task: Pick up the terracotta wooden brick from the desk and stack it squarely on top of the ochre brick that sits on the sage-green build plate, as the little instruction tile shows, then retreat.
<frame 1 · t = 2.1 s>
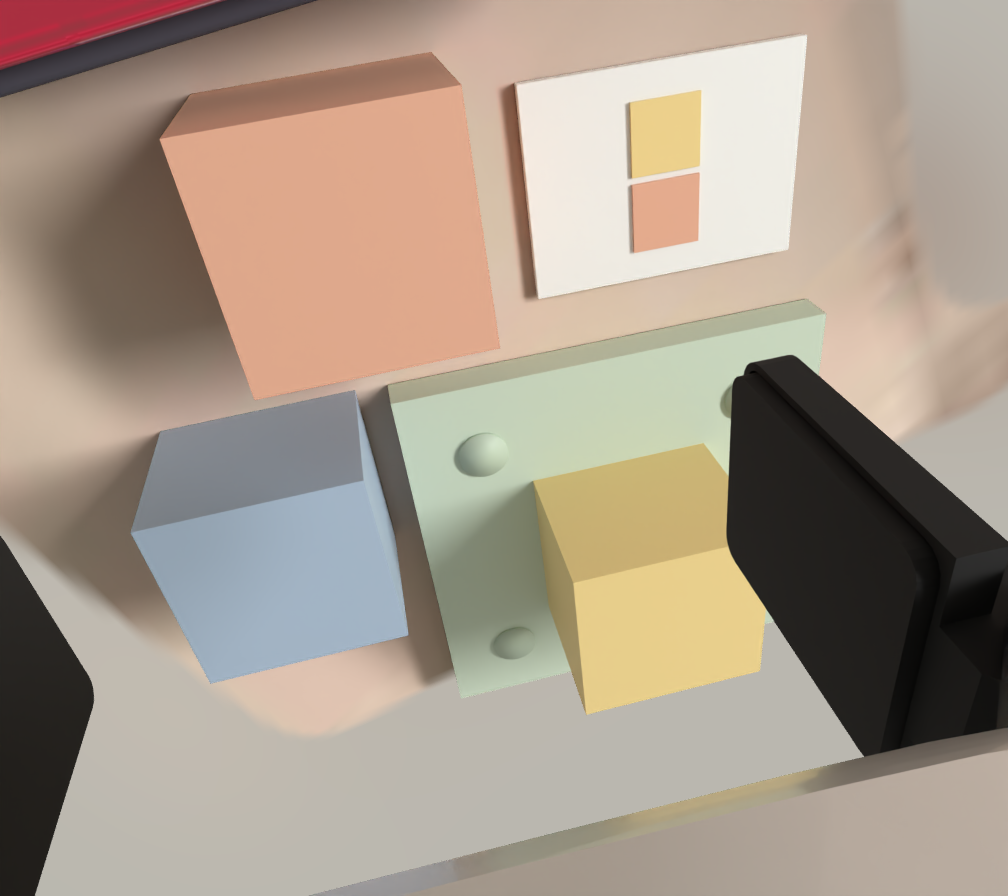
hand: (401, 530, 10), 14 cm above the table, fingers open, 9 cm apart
build plate: (611, 508, 29), on the table
terracotta brick: (342, 191, 21), on the table
instruction tile: (661, 172, 23), on the table
ochre brick: (622, 528, 28), point 1 cm above the table, touching build plate
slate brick: (286, 484, 26), on the table
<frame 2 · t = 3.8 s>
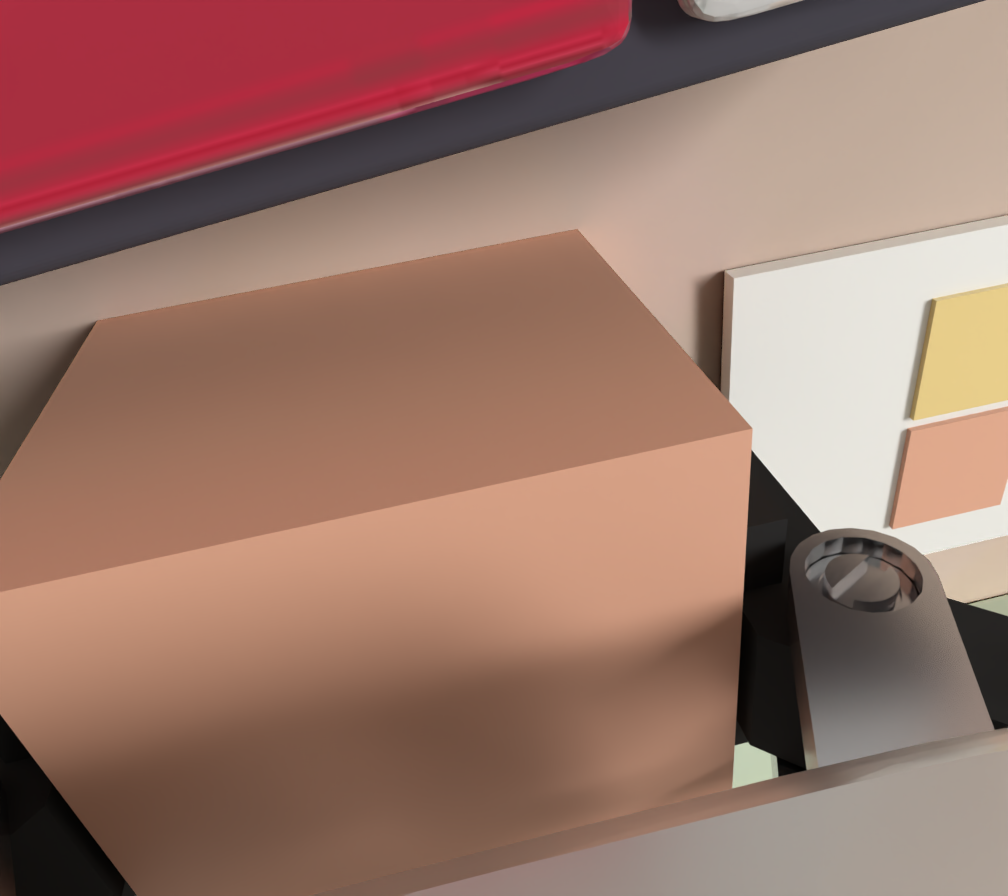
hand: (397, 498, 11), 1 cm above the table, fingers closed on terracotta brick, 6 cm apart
build plate: (783, 840, 19), on the table
terracotta brick: (393, 469, 11), on the table, touching gripper
instruction tile: (954, 400, 13), on the table
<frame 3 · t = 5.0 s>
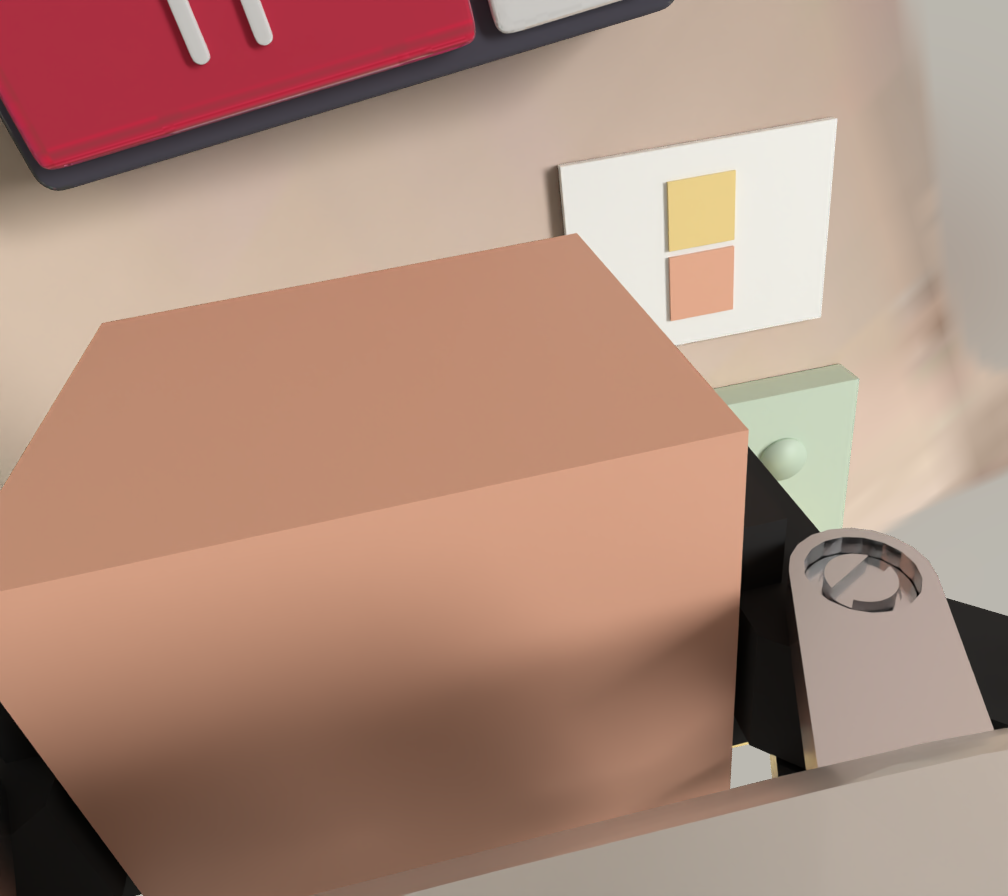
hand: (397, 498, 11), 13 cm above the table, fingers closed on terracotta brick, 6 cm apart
build plate: (647, 565, 30), on the table
terracotta brick: (394, 470, 12), point 12 cm above the table, touching gripper
instruction tile: (697, 245, 24), on the table
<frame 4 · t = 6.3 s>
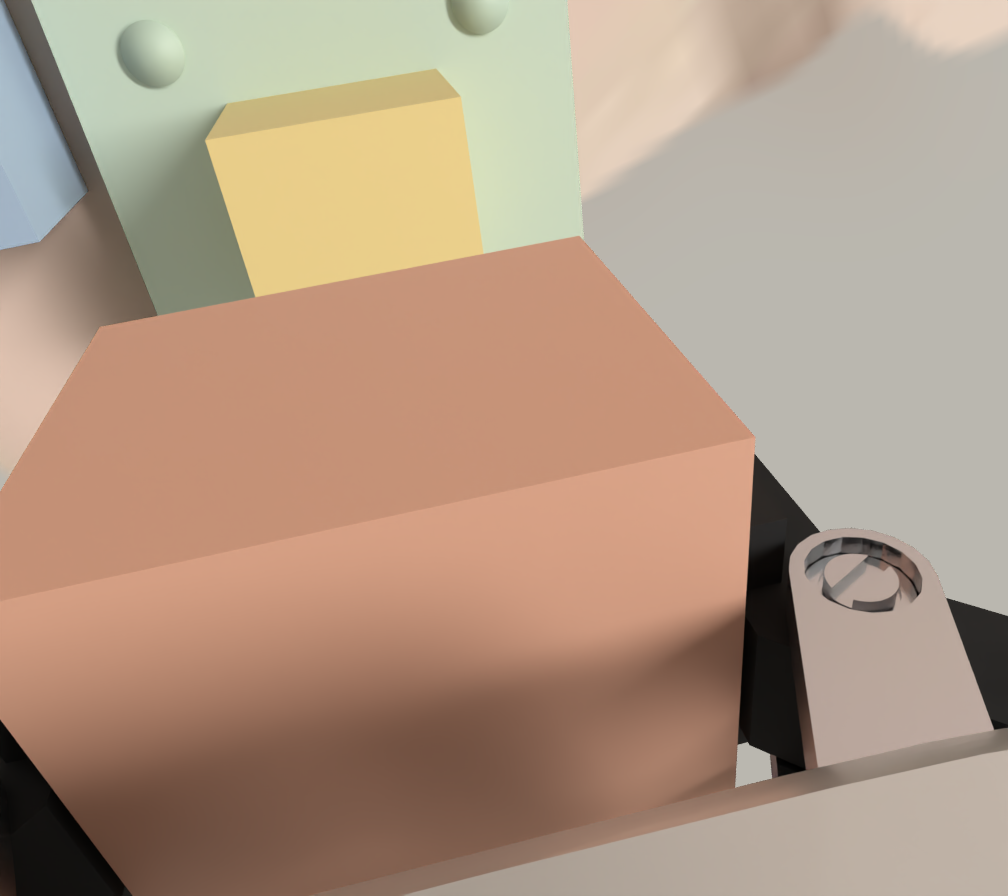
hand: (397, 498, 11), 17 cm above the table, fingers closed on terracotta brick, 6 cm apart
build plate: (355, 181, 25), on the table
terracotta brick: (394, 474, 11), point 17 cm above the table, touching gripper
ochre brick: (356, 191, 24), point 1 cm above the table, touching build plate
when the fingers open (8 cm above the table, at t = 8.8 s): terracotta brick drops 1 cm, resting on ochre brick.
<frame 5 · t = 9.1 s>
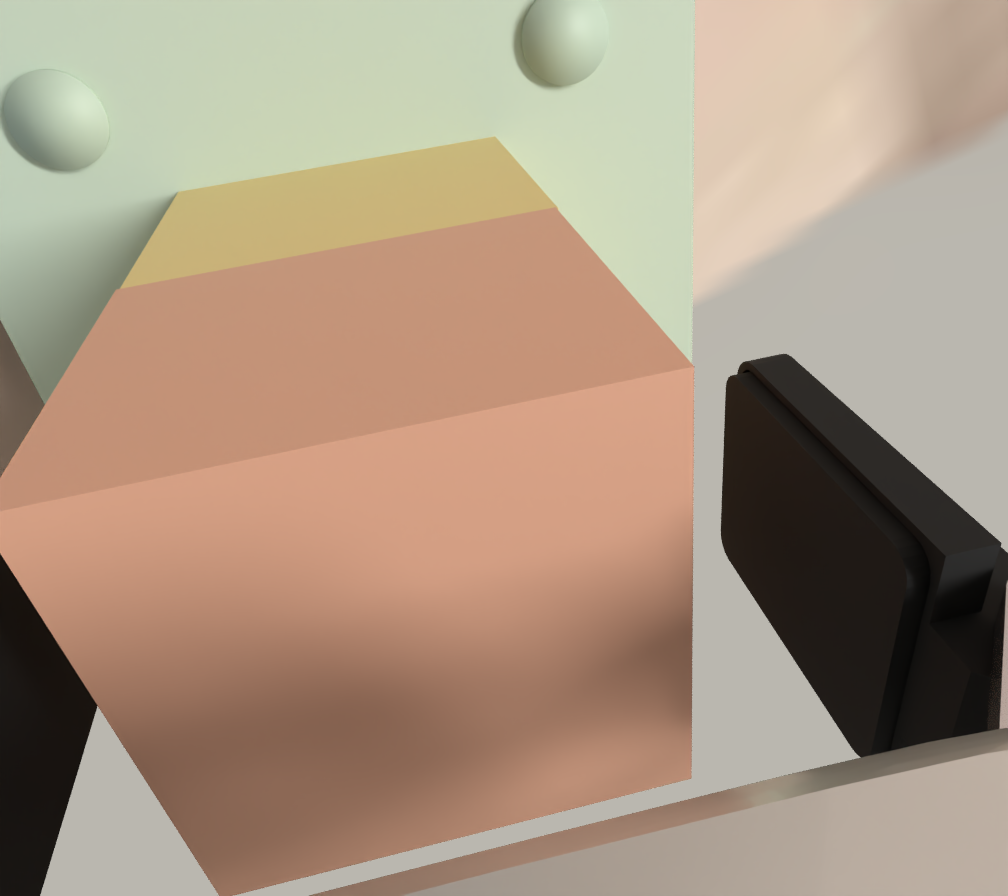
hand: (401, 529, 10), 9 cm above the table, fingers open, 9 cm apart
build plate: (370, 289, 18), on the table
terracotta brick: (387, 432, 12), point 6 cm above the table, touching ochre brick
ochre brick: (373, 310, 17), point 1 cm above the table, touching build plate, terracotta brick
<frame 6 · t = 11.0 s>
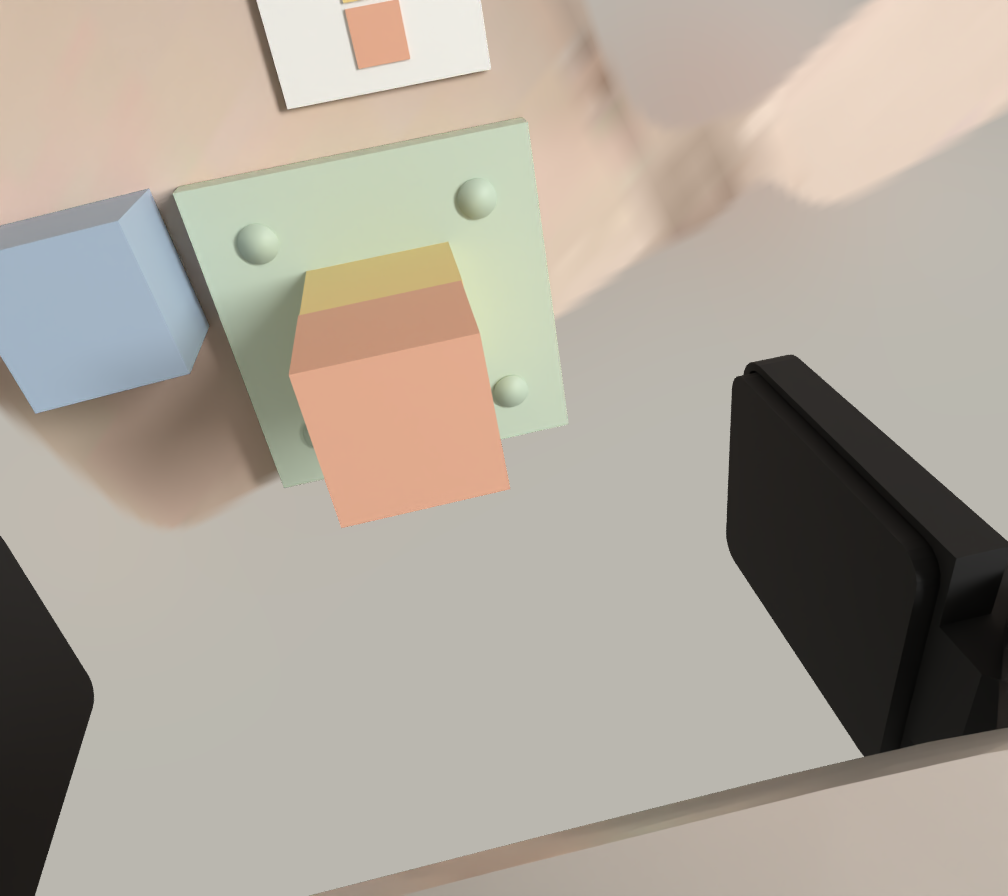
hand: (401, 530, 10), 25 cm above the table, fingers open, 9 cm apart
build plate: (392, 312, 35), on the table
terracotta brick: (399, 371, 30), point 6 cm above the table, touching ochre brick
instruction tile: (370, 0, 29), on the table
ochre brick: (394, 322, 34), point 1 cm above the table, touching build plate, terracotta brick
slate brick: (110, 277, 33), on the table
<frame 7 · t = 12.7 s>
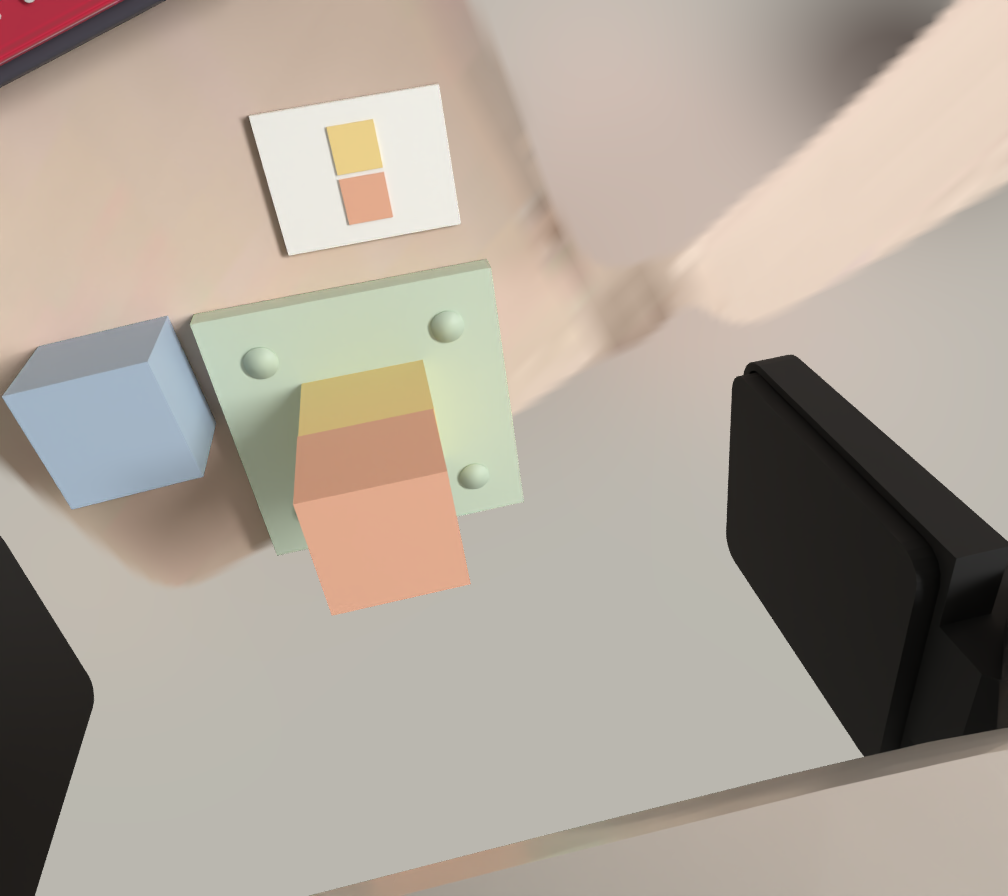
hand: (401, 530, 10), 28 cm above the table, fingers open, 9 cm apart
build plate: (374, 411, 41), on the table
terracotta brick: (380, 477, 36), point 6 cm above the table, touching ochre brick
instruction tile: (360, 171, 35), on the table
ochre brick: (375, 423, 40), point 1 cm above the table, touching build plate, terracotta brick
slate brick: (132, 385, 38), on the table
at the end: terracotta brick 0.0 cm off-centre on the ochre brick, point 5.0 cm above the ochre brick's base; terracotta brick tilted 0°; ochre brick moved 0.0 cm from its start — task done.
